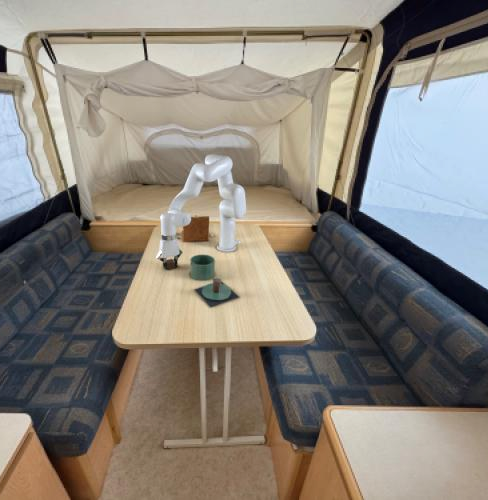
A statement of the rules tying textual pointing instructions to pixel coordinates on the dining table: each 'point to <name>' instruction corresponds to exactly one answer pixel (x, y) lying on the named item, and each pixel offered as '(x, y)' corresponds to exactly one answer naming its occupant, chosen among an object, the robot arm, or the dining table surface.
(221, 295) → the lid
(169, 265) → the block
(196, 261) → the canister
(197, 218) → the game set
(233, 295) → the mat
